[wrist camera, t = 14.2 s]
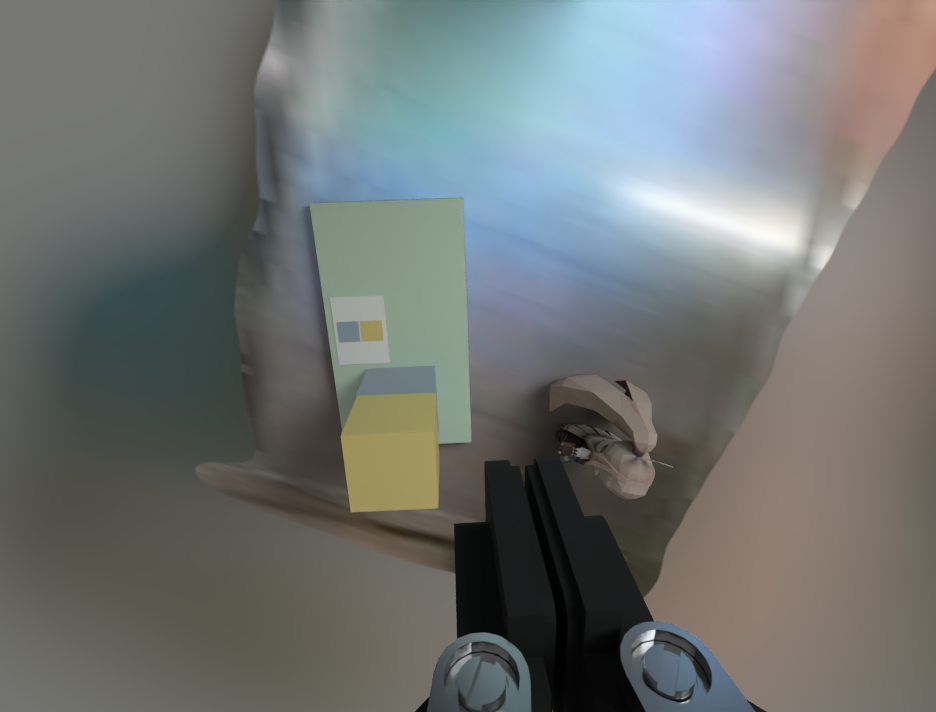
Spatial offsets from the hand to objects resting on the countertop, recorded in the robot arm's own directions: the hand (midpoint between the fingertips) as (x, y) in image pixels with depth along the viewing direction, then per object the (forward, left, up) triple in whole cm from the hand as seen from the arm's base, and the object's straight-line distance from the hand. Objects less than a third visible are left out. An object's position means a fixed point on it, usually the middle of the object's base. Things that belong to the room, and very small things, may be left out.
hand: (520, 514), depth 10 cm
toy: (+13, +11, -31) cm, 36 cm away
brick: (+11, -6, -24) cm, 27 cm away
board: (+5, -6, -31) cm, 32 cm away
